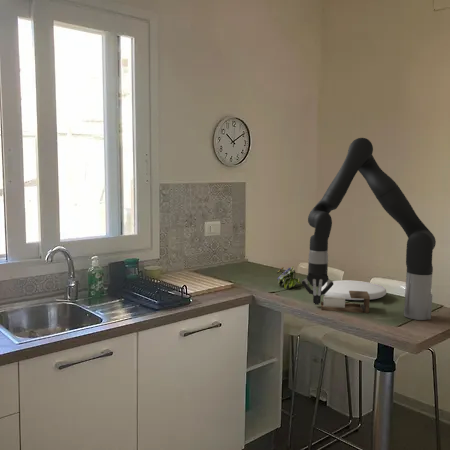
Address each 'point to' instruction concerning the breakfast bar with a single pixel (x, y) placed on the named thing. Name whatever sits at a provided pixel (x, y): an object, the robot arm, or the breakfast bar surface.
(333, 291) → the plate
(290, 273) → the passion flower
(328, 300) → the white rectangular block
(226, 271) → the breakfast bar surface
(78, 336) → the breakfast bar surface
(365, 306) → the dock
